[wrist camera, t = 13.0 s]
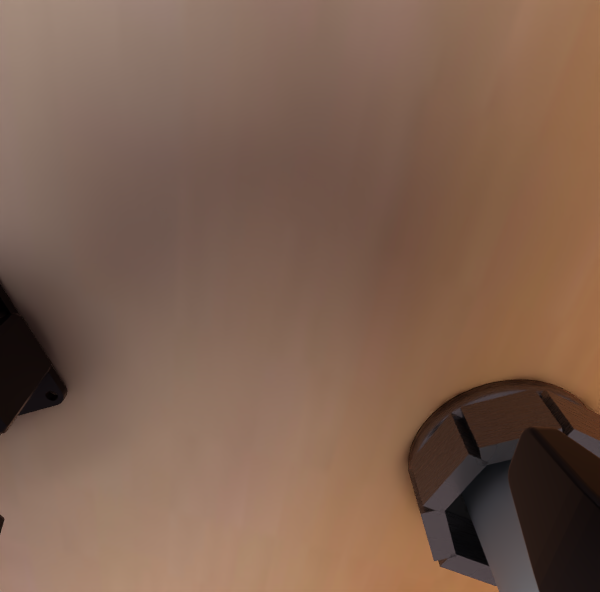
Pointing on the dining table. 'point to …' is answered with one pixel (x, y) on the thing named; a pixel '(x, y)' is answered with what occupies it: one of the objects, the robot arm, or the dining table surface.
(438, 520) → the socket collar
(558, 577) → the robot arm
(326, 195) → the dining table surface
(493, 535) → the peg
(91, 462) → the dining table surface
